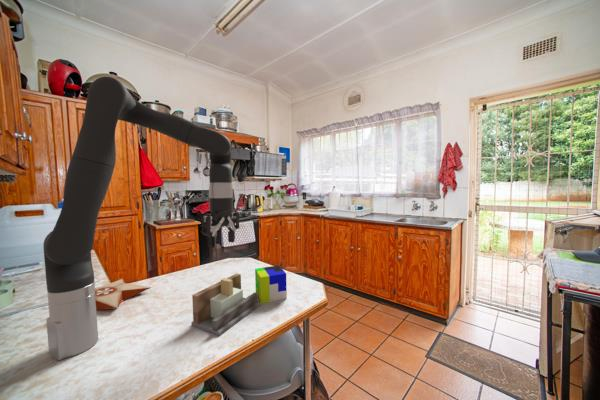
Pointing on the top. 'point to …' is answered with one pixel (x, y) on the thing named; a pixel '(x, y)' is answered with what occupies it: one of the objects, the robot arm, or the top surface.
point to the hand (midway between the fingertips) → (222, 244)
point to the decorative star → (116, 294)
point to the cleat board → (227, 318)
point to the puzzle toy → (270, 284)
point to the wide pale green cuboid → (225, 298)
